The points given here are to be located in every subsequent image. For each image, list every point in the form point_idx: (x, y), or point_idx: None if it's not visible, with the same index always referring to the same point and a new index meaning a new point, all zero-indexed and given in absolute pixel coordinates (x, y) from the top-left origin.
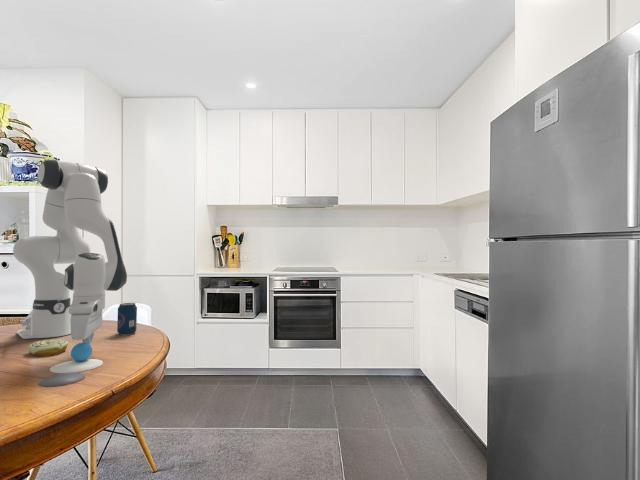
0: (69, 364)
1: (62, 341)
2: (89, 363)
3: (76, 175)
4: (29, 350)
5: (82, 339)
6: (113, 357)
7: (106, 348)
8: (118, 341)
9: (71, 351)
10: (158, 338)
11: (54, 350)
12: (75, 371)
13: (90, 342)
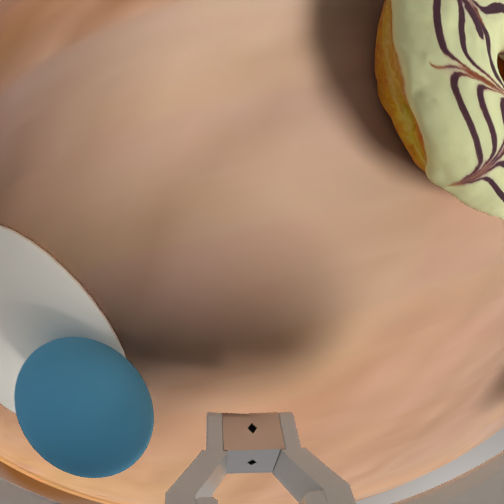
0: (21, 315)
1: None
2: None
3: None
4: None
5: (173, 484)
6: (164, 458)
7: (385, 405)
8: (475, 394)
9: (27, 370)
10: (415, 475)
11: (409, 123)
12: None
13: (232, 470)
